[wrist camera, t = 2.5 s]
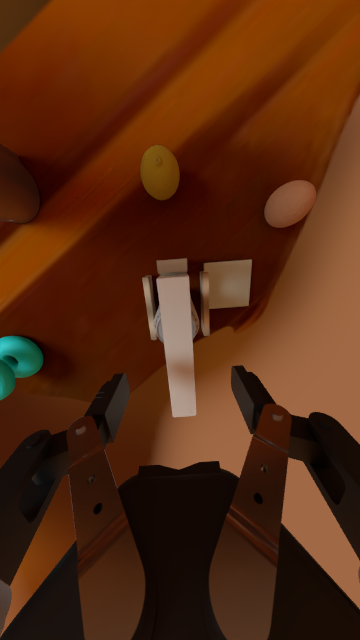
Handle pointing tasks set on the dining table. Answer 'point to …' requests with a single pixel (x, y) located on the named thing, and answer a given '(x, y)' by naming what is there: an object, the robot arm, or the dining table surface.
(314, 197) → the egg
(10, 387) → the donuts
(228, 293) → the coaster
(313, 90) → the dining table surface
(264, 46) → the dining table surface
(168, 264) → the cradle
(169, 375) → the bar
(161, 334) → the energy drink can
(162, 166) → the lemon
